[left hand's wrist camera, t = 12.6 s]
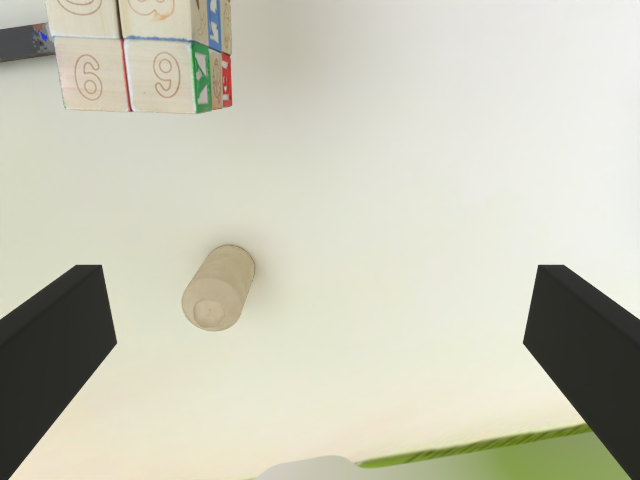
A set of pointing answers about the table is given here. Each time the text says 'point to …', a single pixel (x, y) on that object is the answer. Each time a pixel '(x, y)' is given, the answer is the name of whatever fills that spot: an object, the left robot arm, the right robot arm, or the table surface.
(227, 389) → the table surface
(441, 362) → the table surface
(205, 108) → the stack of blocks
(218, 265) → the candle
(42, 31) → the blue-tipped grey rod
